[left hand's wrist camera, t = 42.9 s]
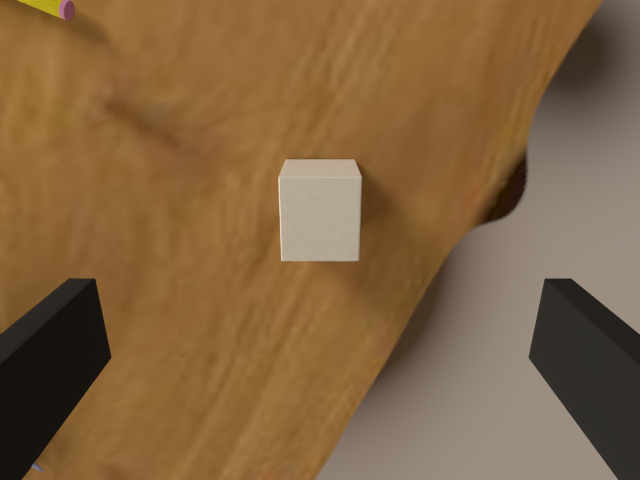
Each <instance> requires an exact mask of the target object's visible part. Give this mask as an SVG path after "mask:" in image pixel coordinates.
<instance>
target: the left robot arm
mask: <svg viewBox="0 0 640 480" xmlns="http://www.w3.org/2000/svg"><path fill="white" fill-rule="evenodd" d="M110 359H111V354H110V349H109V344H108V339H107V334H106V329H105V324H104V319H103V315H102V310H101V305H100V300H99V295H98V290H97V285H96V280H95V279H68V280H67V281H65V282H64V283H63V284H62V285H60V286H59V287H58V288H57V289H56V290H54V291H53V292H52V293H51V294H49V295H48V296H47V297H46V298H45V299H43V300H42V301H41V302H40V303H38V304H37V305H36V306H35V307H33V308H32V309H31V310H30V311H29V312H27V313H26V314H25V315H24V316H22V317H21V318H20V319H19V320H18V321H16V322H15V323H14V324H13V325H11V326H10V327H9V328H8V329H7V330H5V331H4V332H3V333H2V334H0V480H22V479H23V477H24V476H25V475H26V473H27V472H28V470H29V469H30V468H31V466H32V465H33V464H34V462H35V461H36V460H37V458H38V457H39V455H40V454H41V453H42V451H43V450H44V449H45V447H46V446H47V445H48V443H49V442H50V441H51V439H52V438H53V436H54V435H55V434H56V432H57V431H58V430H59V428H60V427H61V426H62V424H63V423H64V421H65V420H66V419H67V417H68V416H69V415H70V413H71V412H72V411H73V409H74V408H75V406H76V405H77V404H78V402H79V401H80V400H81V398H82V397H83V396H84V394H85V393H86V392H87V390H88V389H89V387H90V386H91V385H92V383H93V382H94V381H95V379H96V378H97V377H98V375H99V374H100V372H101V371H102V370H103V368H104V367H105V366H106V364H107V363H108V362H109V360H110ZM529 359H530V360H531V362H532V363H533V364H534V366H535V367H536V368H537V370H538V371H539V372H540V374H541V375H542V377H543V378H544V379H545V381H546V382H547V383H548V385H549V386H550V387H551V389H552V390H553V392H554V393H555V394H556V396H557V397H558V398H559V400H560V401H561V402H562V404H563V405H564V406H565V408H566V409H567V411H568V412H569V413H570V415H571V416H572V417H573V419H574V420H575V421H576V423H577V424H578V425H579V427H580V428H581V430H582V431H583V432H584V434H585V435H586V436H587V438H588V439H589V440H590V442H591V443H592V444H593V446H594V447H595V449H596V450H597V451H598V453H599V454H600V455H601V457H602V458H603V460H604V461H605V462H606V464H607V465H608V466H609V468H610V469H611V470H612V472H613V473H614V475H615V476H616V477H617V478H618V480H640V334H638V333H637V332H636V331H635V330H633V329H632V328H631V327H630V326H629V325H627V324H626V323H625V322H624V321H622V320H621V319H620V318H619V317H617V316H616V315H615V314H614V313H613V312H611V311H610V310H609V309H608V308H607V307H605V306H604V305H603V304H602V303H600V302H599V301H598V300H597V299H595V298H594V297H593V296H592V295H591V294H589V293H588V292H587V291H586V290H584V289H583V288H582V287H581V286H579V285H578V284H577V283H576V282H575V281H573V280H572V279H545V280H544V285H543V290H542V295H541V300H540V305H539V310H538V314H537V319H536V324H535V329H534V334H533V339H532V344H531V349H530V354H529Z"/></svg>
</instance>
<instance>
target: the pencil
mask: <svg viewBox="0 0 640 480" xmlns="http://www.w3.org/2000/svg"><path fill="white" fill-rule="evenodd" d="M18 1H20V2H23V3H25V4H28V5H30V6H32V7H35V8H37V9H40V10H42V11H45V12H47V13H49V14H52V15H54V16H57V17H59V18H62V19H65V20H67V21H69V20H71V19H72V17H73V15H74V10H75V9H74V4H73V2H72V1H70V0H18Z"/></svg>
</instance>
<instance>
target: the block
mask: <svg viewBox="0 0 640 480" xmlns="http://www.w3.org/2000/svg"><path fill="white" fill-rule="evenodd" d="M361 195H362V176H361V174H360V171H359V169H358V166H357V164H356V161H355V160H354V159H286V160H285V163H284V165H283V168H282V170H281V173H280V175H279V207H280V236H281V260H282V261H359V252H360V224H361Z"/></svg>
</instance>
